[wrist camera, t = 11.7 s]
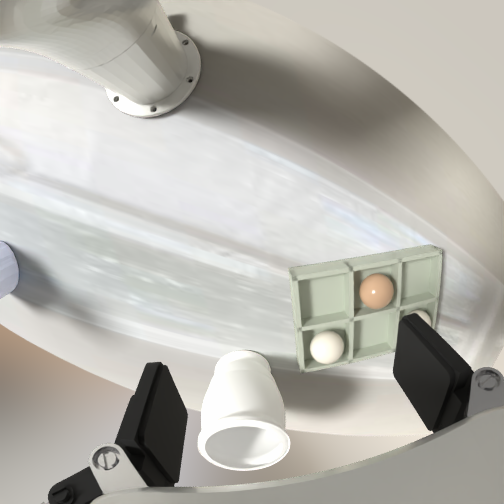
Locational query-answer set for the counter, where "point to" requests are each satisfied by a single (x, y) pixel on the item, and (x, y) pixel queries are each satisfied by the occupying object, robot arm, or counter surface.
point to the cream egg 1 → (327, 347)
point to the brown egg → (376, 291)
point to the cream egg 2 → (422, 315)
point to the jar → (243, 415)
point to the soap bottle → (7, 270)
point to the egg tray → (353, 309)
